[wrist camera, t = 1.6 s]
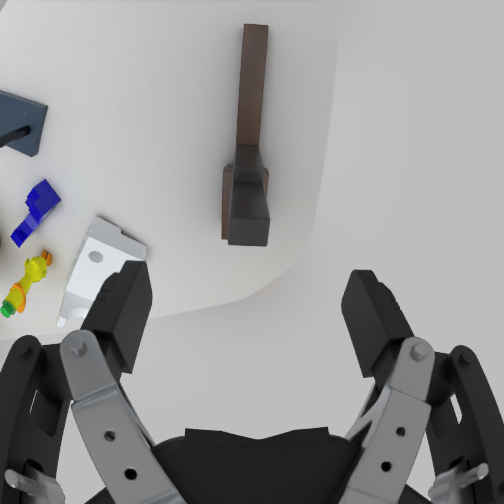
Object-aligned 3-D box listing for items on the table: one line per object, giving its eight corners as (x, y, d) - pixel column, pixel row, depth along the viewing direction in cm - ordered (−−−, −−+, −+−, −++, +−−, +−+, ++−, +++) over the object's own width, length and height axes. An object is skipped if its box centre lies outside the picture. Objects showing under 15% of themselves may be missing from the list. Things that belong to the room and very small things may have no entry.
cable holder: (45, 178, 25) (26, 192, 22) (61, 200, 27) (43, 215, 24) (20, 213, 28) (3, 228, 24) (34, 231, 29) (19, 247, 26)
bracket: (108, 297, 37) (104, 342, 32) (66, 280, 33) (56, 325, 28) (147, 240, 32) (144, 289, 27) (95, 216, 28) (80, 264, 22)
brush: (277, 30, 19) (317, -24, 7) (260, 226, 30) (271, 333, 18) (232, 27, 19) (220, -32, 7) (223, 224, 30) (211, 332, 18)
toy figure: (53, 278, 34) (16, 337, 24) (35, 267, 33) (-4, 323, 23) (59, 247, 31) (14, 309, 21) (40, 235, 30) (-8, 293, 20)
